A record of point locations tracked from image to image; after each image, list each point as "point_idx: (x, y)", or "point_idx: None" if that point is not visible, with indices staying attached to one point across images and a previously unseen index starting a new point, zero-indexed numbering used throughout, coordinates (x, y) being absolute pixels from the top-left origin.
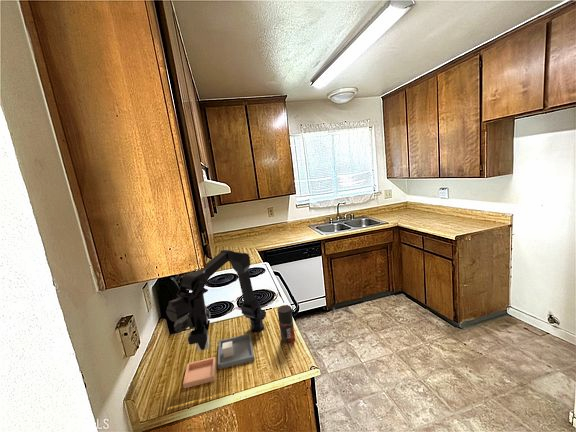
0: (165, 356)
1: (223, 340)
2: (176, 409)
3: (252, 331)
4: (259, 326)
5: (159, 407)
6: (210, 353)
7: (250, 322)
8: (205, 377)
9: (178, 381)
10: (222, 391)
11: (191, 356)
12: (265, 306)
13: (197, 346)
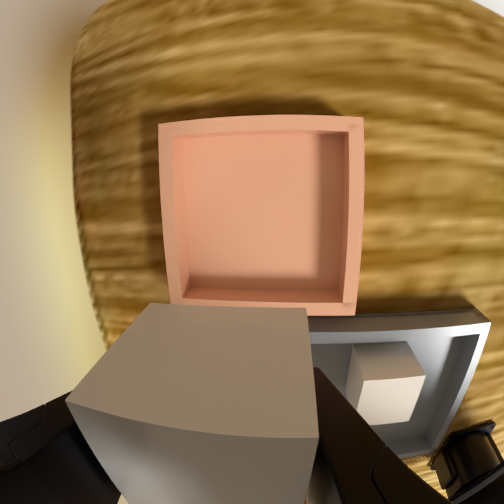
0: (482, 14)
1: (476, 347)
2: (76, 128)
3: (458, 438)
4: (439, 478)
5: (111, 47)
6: (441, 258)
7: (483, 456)
8: (172, 261)
9: (255, 78)
10: (122, 322)
11: (460, 140)
12: None
13: (116, 352)
